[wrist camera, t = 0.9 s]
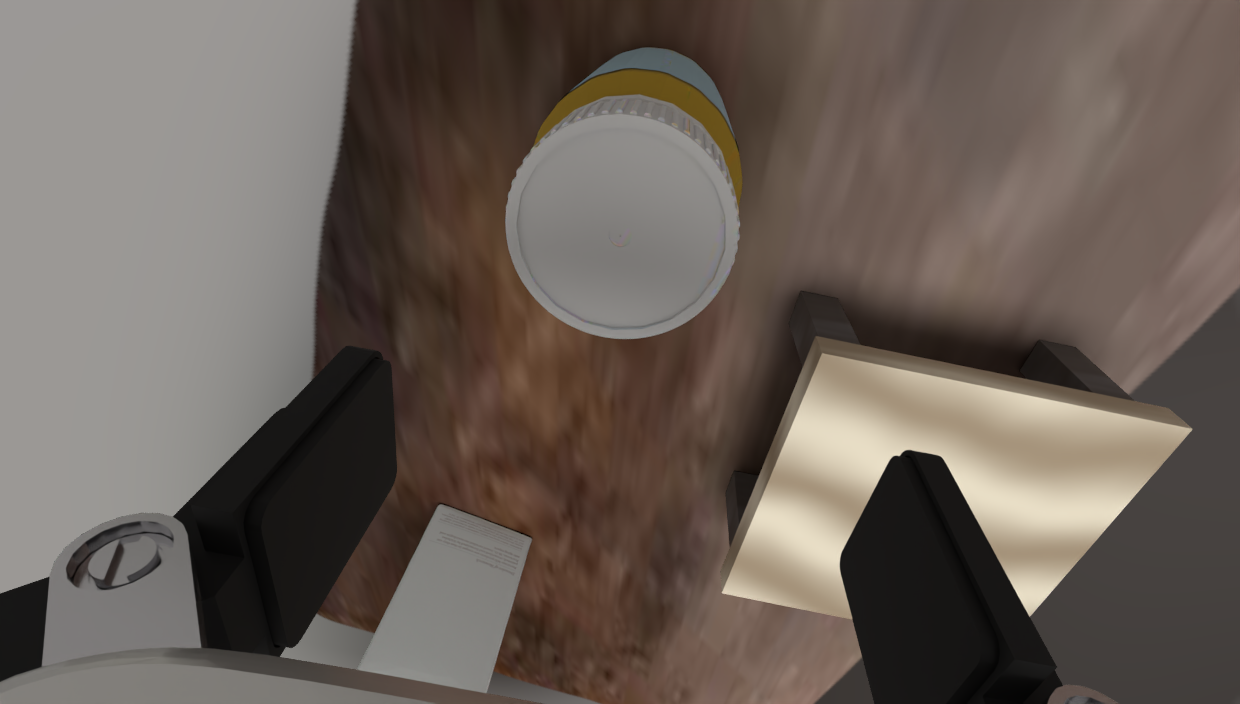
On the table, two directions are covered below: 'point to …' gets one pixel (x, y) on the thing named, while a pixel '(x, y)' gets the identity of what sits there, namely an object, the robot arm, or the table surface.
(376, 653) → the supplement box
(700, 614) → the table surface
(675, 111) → the bottle
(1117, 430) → the footstool
